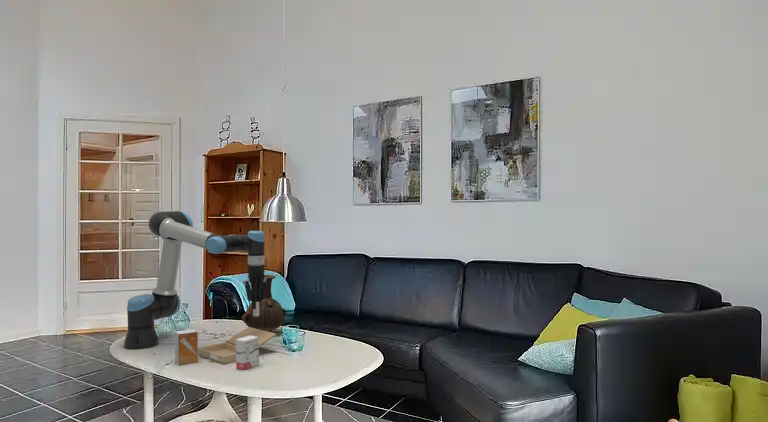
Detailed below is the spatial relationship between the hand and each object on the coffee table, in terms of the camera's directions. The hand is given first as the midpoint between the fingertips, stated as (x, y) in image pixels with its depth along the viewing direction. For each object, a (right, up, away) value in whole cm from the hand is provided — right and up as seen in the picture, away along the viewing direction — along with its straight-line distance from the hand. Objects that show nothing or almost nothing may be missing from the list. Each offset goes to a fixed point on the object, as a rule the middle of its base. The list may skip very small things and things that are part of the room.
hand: (256, 315), depth 252 cm
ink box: (+3, -16, -28) cm, 32 cm away
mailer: (-11, -16, -13) cm, 23 cm away
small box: (-25, -16, -20) cm, 36 cm away
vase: (-3, -15, +30) cm, 34 cm away
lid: (-2, -9, -3) cm, 10 cm away
